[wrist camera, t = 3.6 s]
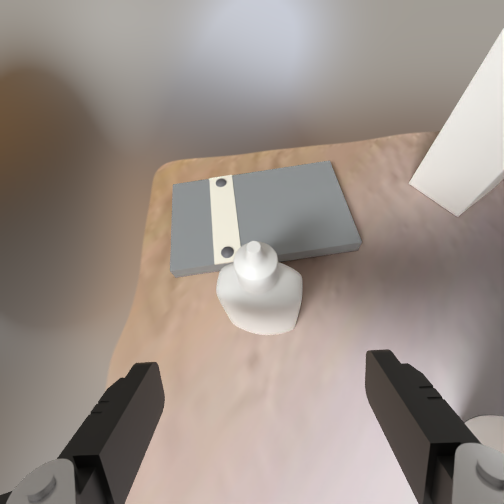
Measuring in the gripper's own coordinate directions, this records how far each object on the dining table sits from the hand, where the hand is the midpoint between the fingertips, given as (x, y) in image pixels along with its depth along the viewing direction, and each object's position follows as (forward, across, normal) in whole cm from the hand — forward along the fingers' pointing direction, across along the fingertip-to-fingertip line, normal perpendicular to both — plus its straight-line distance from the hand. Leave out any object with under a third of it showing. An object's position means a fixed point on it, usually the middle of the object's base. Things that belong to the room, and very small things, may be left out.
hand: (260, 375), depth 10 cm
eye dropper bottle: (+12, 0, +4) cm, 13 cm away
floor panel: (+20, 0, -3) cm, 20 cm away
